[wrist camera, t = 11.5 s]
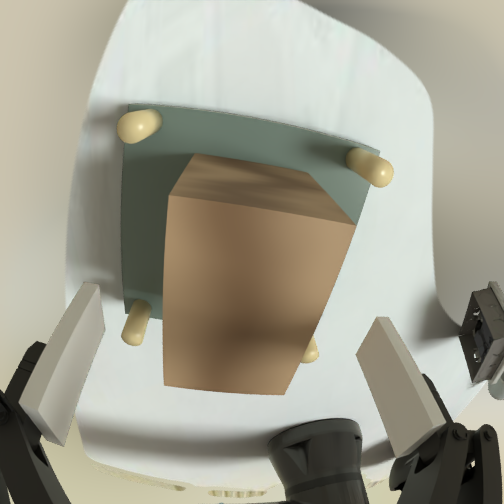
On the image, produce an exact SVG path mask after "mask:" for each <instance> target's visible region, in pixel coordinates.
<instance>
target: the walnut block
mask: <svg viewBox="0 0 504 504" xmlns="http://www.w3.org/2000/svg"><path fill="white" fill-rule="evenodd" d="M355 229H356V225H355V223H354V222H353V221H352V220H351V219H350V218H349V217H348V215H347V214H346V213H345V212H344V211H343V210H342V209H341V208H340V206H339V205H338V204H337V203H336V202H335V201H334V200H333V199H332V198H331V197H330V196H329V194H328V193H327V192H326V191H325V190H324V189H323V188H322V187H321V186H320V185H319V184H318V183H317V182H316V181H315V180H314V179H313V177H312V176H311V175H310V174H309V173H307V172H302V171H298V170H293V169H288V168H283V167H278V166H273V165H267V164H262V163H256V162H251V161H245V160H239V159H233V158H226V157H220V156H213V155H206V154H198V153H195V154H194V155H193V157H192V158H191V160H190V162H189V163H188V165H187V166H186V168H185V169H184V171H183V173H182V174H181V176H180V178H179V179H178V181H177V182H176V184H175V186H174V187H173V189H172V191H171V192H170V194H169V199H168V210H167V223H166V237H165V254H164V276H163V375H164V385H165V386H172V387H179V388H187V389H195V390H204V391H214V392H226V393H240V394H260V395H284V394H285V392H286V390H287V388H288V386H289V384H290V382H291V380H292V378H293V376H294V374H295V372H296V370H297V368H298V366H299V364H300V362H301V360H302V358H303V355H304V353H305V351H306V349H307V347H308V345H309V342H310V340H311V338H312V336H313V334H314V331H315V329H316V327H317V325H318V322H319V320H320V318H321V316H322V313H323V311H324V309H325V306H326V304H327V301H328V299H329V297H330V294H331V292H332V289H333V287H334V284H335V282H336V279H337V277H338V274H339V272H340V269H341V267H342V264H343V261H344V259H345V256H346V253H347V251H348V248H349V245H350V243H351V240H352V237H353V234H354V232H355Z"/></svg>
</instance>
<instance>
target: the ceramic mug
mask: <svg viewBox="0 0 504 504" xmlns="http://www.w3.org/2000/svg"><path fill="white" fill-rule="evenodd" d="M488 390H489V393H490V394H491V396H492V397H493V398H495V399H497V400H504V372H503V373H502V375H501V377H500V378H499V380H498V381H497V383H495V384H492V385H490V384H489V383H488Z"/></svg>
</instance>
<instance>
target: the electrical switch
mask: <svg viewBox="0 0 504 504" xmlns="http://www.w3.org/2000/svg"><path fill="white" fill-rule="evenodd" d="M476 308H478V309H476ZM479 311H480V313H479V314H478V315H473V313H475V312H476V313H477V312H479ZM470 319H472V320H470ZM476 319H477V320H476ZM472 330H473V331H472ZM459 335H462V336H459V339H460V342H461V346H462V349H463V352H464V355H465V359H466V362H467V366H468V369H469V373H470V377H471V381H472V383H473V382H477V381H480V380H481V381H484V380H488V383H489V384H490V385H492V384H495V383H497V381H498V380H499V378H500V377H501V375H502V373H503V372H504V294H503V292H502V290H501V288H500V286H499V285H498V283H497V282H489V284H488V288H487V289H483V290H480V291H474V292H472V294H471V297H470V301H469V304H468V308H467V311H466V314H465V318H464V321H463V324H462V328H461V331H460V334H459ZM474 354H475V355H476V358H474ZM476 361H478V362H476Z"/></svg>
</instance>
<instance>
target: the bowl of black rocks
mask: <svg viewBox="0 0 504 504" xmlns="http://www.w3.org/2000/svg"><path fill="white" fill-rule="evenodd" d="M417 453H418V450H417V449H415V450H414V451H413V452H412V453H410V454H409V455H406V456H402V457H399V458H396V460H395V462H394V464H393V466H392V469H391V472H390V477H389V487H390V490H391V491H396V490H401V491H402V490H403V488H404V485H405V483H406V480H407V477H408V475H409V472H410V469H411V467H409V466H410V465H411V464H412V463H413V461H412V462H411V463H410V464H408V465H405V464H406V462H407V461H408V460H409V459H411V458H412V457H413V456H415V455H416V454H417ZM469 465H470V469H471V468H472V465H471V463H470V464H469Z"/></svg>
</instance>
